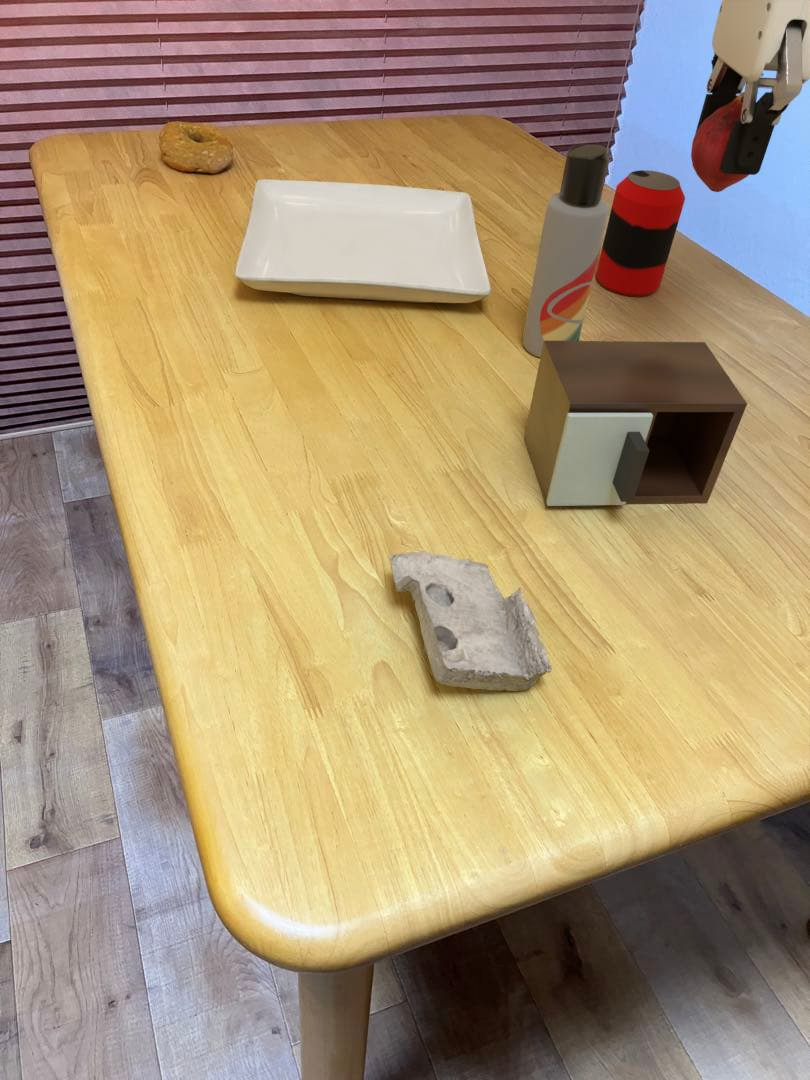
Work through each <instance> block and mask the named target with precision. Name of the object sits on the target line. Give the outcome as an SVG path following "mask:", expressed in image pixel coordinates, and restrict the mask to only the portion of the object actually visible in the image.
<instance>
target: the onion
mask: <svg viewBox="0 0 810 1080" xmlns="http://www.w3.org/2000/svg"><path fill="white" fill-rule="evenodd" d="M744 92H745V91H742V92H741V93H740V94H737V97H736V98H735V99H734V100H733V101H732V102H731V103H729V104H727V105H725V106H723V107H721V108H719V109H717V110H716V111H715V112H714V113H713V114H711V115H710V116H709V117H707V118H706V119H705V120H704V122H703V123H702V124H701V125H700V127H699V128H698V130H697V131H696V130H695V133H696V134H695V133H694V135H693V136H694V137H693V138H692V144H691V151H690V158H691V164H692V167H693V169H694V172H695V174H696V175H697V177H698V178H699V179H700V180H701V181H702V183H703V184H704V185H705V186H706V187H707V188H708V189H709V190H710V191H711V192H714V193H720V192H723V191H724V190H726V189H727V188H730V187H732V186H733V185H735V184H738V183H740V182H741V181H743V180H744V179H746V178H747V177H749V175H746V174H725V173H723V172H722V171H721V169H720V166H721V163H722V159H723V156H724V153H725V149H726V146H727V143H728V140H729V136H730V133H731V130H732V126H733V123H734V120H741V119H740V118H741V111H742V105H743V98H744Z"/></svg>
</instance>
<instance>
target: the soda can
mask: <svg viewBox="0 0 810 1080" xmlns="http://www.w3.org/2000/svg"><path fill="white" fill-rule="evenodd" d="M614 191H615V192H614V196H613V199H612V204H611V207H610V213H609V217H608V220H607V221H608V222H607V224H606V225H607V226H606V228H605V229H606V230H605V234H604V237H603V243H602V247H601V250H600V255H599V258H598V259H599V260H598V264H597V268H596V272H595V277H596V280H597V281H598V283H599V284H600V285H601V286H602V287H603V288H605V289H606V290H607V291H610V292H612V293H615V294H618V295H621V296H626V297H646V296H649V295H651V294H653V293H655V292H656V291H658V290H659V289H660V287H661V284H662V281H663V277H664V274H665V270H666V266H667V263H668V260H669V256H670V253H671V249H672V246H673V243H674V240H675V236H676V233H677V229H678V224H679V222H680V219H681V215H682V211H683V208H684V205H685V201H686V197H685V194H684V191H683V189H682V186H681V182H680V181H679V180H678V179H677V178H676V177H674V176H672V175H670V174H668V173H664V172H660V171H657V170H656V171H655V170H649V169H648V170H647V169H646V170H645V169H641V170H634V171H631V172H629V173H628V175H626V177H625V178H623V179H622V180H621V181H620V182H619V183H618V184H617V185H616V187H615V190H614Z"/></svg>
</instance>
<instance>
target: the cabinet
mask: <svg viewBox="0 0 810 1080" xmlns="http://www.w3.org/2000/svg"><path fill="white" fill-rule="evenodd" d="M531 397H532V398H531V402H530V408H529V413H528V418H527V422H526V423H527V424H526V427H525V433H524V438H523V440H524V443H525V446H526V448H527V451H528V454H529V457H530V460H531V463H532V466H533V469H534V472H535V476H536V478H537V481H538V484H539V487H540V489H541V493H542V496H543V499H544V501H545V504H546V505H547V503H546V501H547V497H548V493H549V488H550V484H551V480H552V476H553V472H554V467H555V463H556V459H557V455H558V450H559V446H560V442H561V438H562V434H563V429H564V425H565V421H566V417H567V413H652V415H653V419H652V422H651V425H650V428H649V431H648V435H647V438H646V441H645V443H646V445H647V447H648V449H649V454H648V457H647V460H646V463H645V466H644V469H643V472H642V475H641V478H640V481H639V484H638V487H637V490H636V493H635V497H634V500H633V502H626V504H625V505H643V504H647V505H648V504H650V505H651V504H655V505H656V504H707V503H709V500H710V498H711V496H712V494H713V490H714V488H715V487H716V486H715V485H716V483H717V480H718V478H719V475H720V474H721V470H722V468H723V466H724V463H725V460H726V458H727V456H728V453H729V450H730V448H731V445H732V443H733V441H734V438H735V436H736V433H737V431H738V428H739V426H740V423H741V420H742V418H743V416H744V413H745V411H746V408H747V406H748V403H747V401H746V400H745V398H744V397H743V395H742V394H741V393H740V391H739V390H738V388H737V387H736V385H735V383H734V382H733V381H732V379H731V378H730V377H729V375H728V373H727V372H726V370H725V369H724V367H723V366H722V364H721V363H720V362H719V360H718V359H717V357H716V356H715V355H714V352H712V350H711V349H710V347H709V346H708V345H707V343H706V342H705V341H632V340H631V341H629V340H628V341H627V340H625V341H624V340H623V341H621V340H620V341H619V340H617V341H616V340H614V341H613V340H579V341H544V342H543V347H542V352H541V357H540V358H539V363H538V368H537V373H536V377H535V383H534V388H533V392H532V396H531Z"/></svg>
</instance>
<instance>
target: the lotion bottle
mask: <svg viewBox="0 0 810 1080" xmlns="http://www.w3.org/2000/svg"><path fill="white" fill-rule="evenodd" d="M610 161H611V159H610V156H609V154H608V149H607V148H606V147H605V146H602V145H598V144H586V143H582V144H576V145H573V146H572V147H570V148H569V149H568V150H567V153H566V157H565V163H564V169H563V173H562V174H563V175H562V179H561V184H560V185H561V186H560V191H559V192H557V193H554V194H552V195H551V196H550V197H549V198H548V200H547V204H546V209H545V214H544V219H543V225H542V230H541V235H540V241H539V246H538V250H537V251H538V252H537V258H536V263H535V269H534V273H533V280H532V284H531V290H530V295H529V300H528V306H527V312H526V317H525V323H524V329H523V335H522V346H523V347H524V349H525V350H526V351H527V352H528V353H529V354H531V355H533V356H534V357H537V358H539V359H540V357H541V352H542V347H543V342H544V341H580V337H581V332H582V327H583V324H584V319H585V315H586V312H587V311H586V310H587V307H588V303H589V302H588V301H589V298H590V294H591V290H592V285H593V281H594V277H595V273H596V272H595V271H596V269H597V268H596V267H597V265H598V264H597V263H598V259H599V256H600V255H599V254H600V252H601V245H602V240H603V239H604V235H605V234H604V233H605V229H606V225H607V221H608V220H607V219H608V215H609V205H608V203H607V202H605V200H604V199H602V194H603V190H604V185H605V180H606V178H607V173H608V169H609V165H610Z"/></svg>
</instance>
